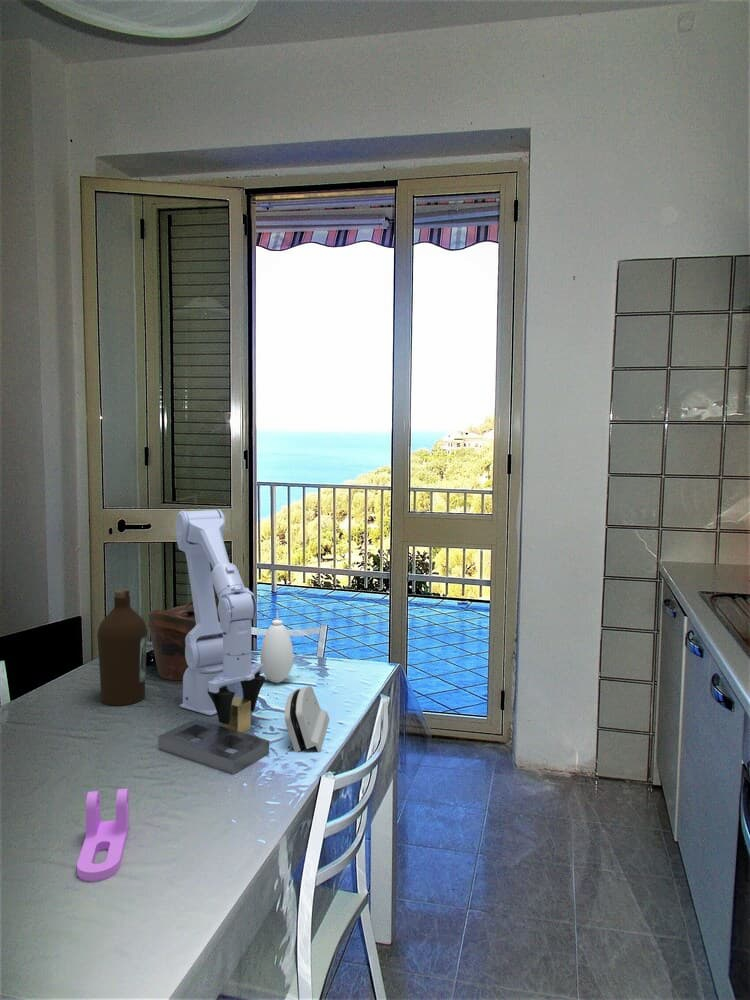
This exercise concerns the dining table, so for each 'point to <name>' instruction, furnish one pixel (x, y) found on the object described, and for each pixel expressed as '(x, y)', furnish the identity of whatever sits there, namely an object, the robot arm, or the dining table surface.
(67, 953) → the dining table surface
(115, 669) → the olive oil
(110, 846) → the bracket
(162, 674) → the terracotta flower pot
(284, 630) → the sauce bottle
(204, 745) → the grey peg hole base
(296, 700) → the grey piece
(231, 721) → the tan rectangular block
